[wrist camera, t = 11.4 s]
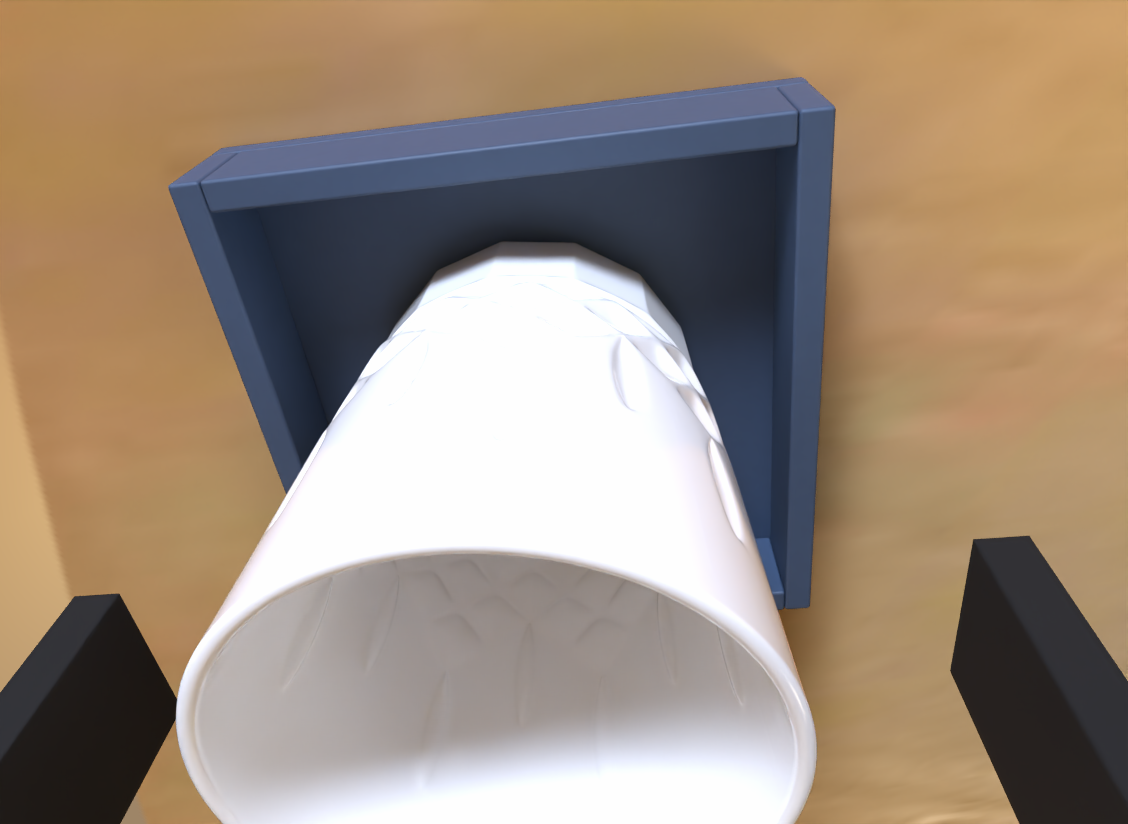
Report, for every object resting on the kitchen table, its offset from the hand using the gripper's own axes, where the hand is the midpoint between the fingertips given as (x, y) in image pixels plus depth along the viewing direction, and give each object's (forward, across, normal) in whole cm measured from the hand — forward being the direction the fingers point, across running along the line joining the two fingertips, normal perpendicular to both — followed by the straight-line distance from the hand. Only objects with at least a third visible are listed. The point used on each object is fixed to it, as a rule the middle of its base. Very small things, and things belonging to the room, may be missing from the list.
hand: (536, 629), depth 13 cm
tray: (+8, 0, -1) cm, 8 cm away
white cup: (+7, 0, -1) cm, 7 cm away
